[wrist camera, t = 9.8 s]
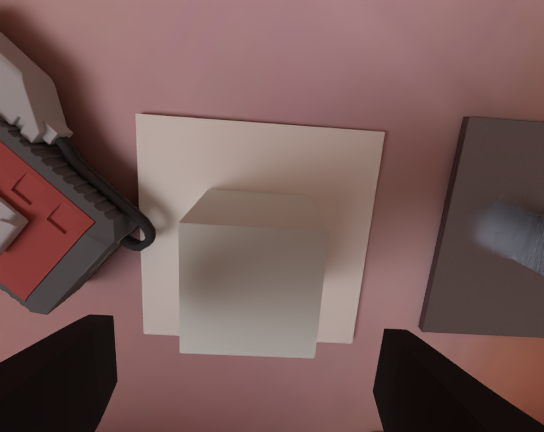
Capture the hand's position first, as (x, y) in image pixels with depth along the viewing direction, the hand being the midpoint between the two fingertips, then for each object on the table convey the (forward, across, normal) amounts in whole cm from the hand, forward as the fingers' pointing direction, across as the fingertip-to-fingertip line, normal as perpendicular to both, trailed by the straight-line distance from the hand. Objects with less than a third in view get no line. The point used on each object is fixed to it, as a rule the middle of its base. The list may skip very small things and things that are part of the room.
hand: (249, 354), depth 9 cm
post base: (+9, -16, -1) cm, 18 cm away
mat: (+9, 0, 0) cm, 9 cm away
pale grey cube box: (+9, 0, 0) cm, 9 cm away
